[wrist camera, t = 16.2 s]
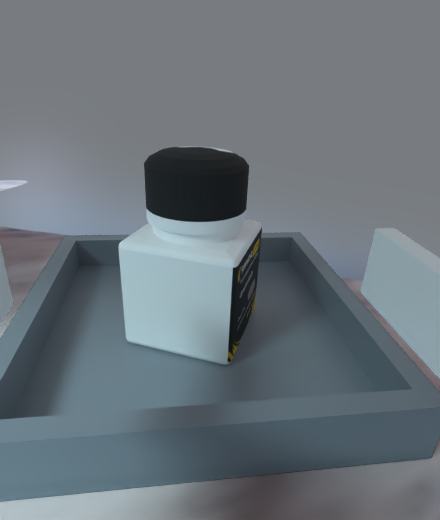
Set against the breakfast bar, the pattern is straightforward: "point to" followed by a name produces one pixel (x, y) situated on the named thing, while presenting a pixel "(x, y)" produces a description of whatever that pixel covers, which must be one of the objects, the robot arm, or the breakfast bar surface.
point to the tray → (201, 383)
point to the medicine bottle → (192, 256)
